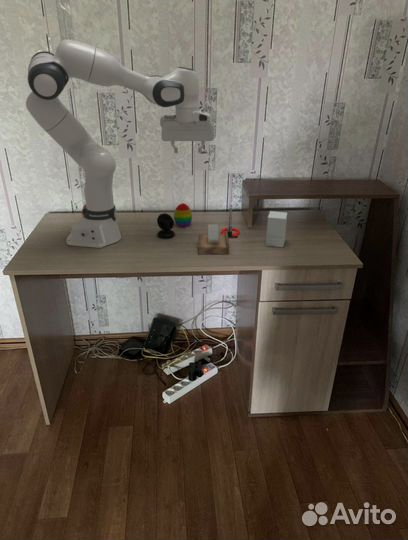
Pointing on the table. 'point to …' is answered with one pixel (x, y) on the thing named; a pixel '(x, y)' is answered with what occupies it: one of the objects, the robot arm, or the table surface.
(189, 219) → the decorative egg
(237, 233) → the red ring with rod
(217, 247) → the wooden tray
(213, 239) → the aluminium block
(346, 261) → the table surface
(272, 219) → the supplement box
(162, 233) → the webcam
